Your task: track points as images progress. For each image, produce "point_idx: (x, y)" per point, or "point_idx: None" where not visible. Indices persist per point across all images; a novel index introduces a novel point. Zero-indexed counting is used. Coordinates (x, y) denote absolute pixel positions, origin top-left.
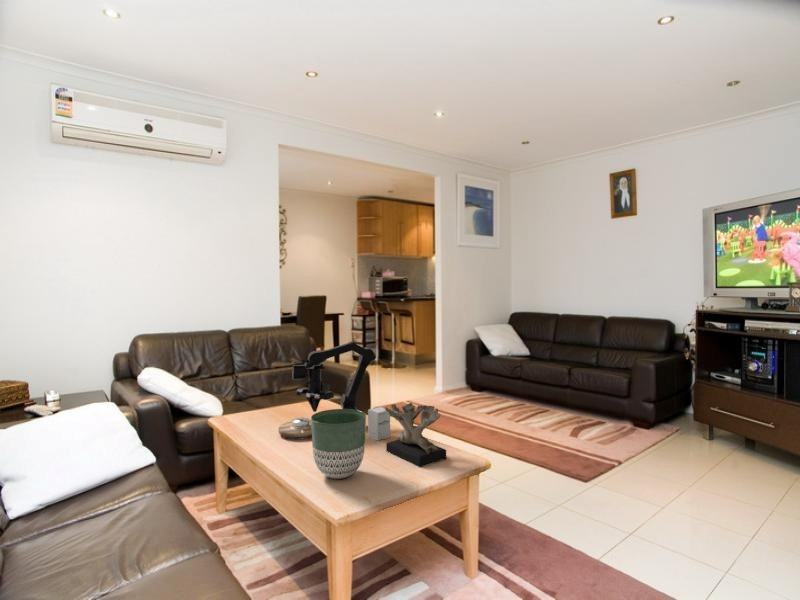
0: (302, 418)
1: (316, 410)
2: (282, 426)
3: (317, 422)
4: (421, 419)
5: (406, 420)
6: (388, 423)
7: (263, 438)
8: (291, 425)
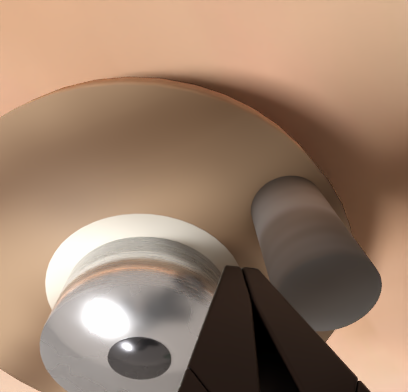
0: (116, 317)
1: (266, 280)
2: (6, 349)
3: None
4: None
5: None
6: None
7: (9, 385)
8: (50, 309)
